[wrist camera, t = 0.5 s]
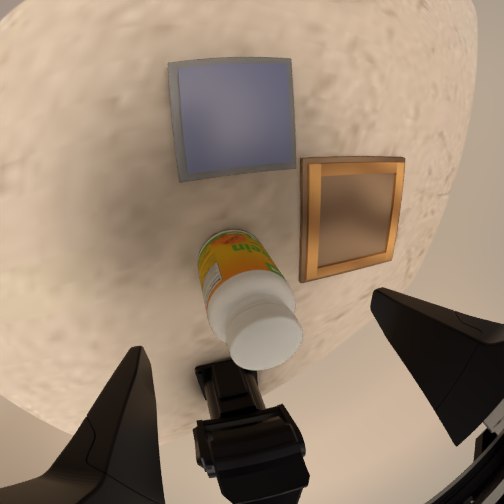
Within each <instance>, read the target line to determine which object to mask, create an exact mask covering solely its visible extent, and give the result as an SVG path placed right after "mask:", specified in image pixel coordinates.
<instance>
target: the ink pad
mask: <svg viewBox="0 0 504 504" xmlns="http://www.w3.org/2000/svg"><path fill="white" fill-rule="evenodd" d="M168 74H169V89H170V102H171V113H172V124H173V133H174V143H175V151H176V160H177V168H178V175H179V183H181V182H187V181H193V180H200V179H207V178H214V177H221V176H228V175H236V174H245V173H254V172H263V171H273V170H285V169H296V142H295V115H294V95H293V78H292V64H291V59H289V58H271V57H227V58H209V59H197V60H187V61H179V62H171V63H168Z"/></svg>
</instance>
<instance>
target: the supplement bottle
mask: <svg viewBox="0 0 504 504" xmlns="http://www.w3.org/2000/svg"><path fill="white" fill-rule="evenodd" d="M198 271H199V277H200V282H201V287H202V292H203V297H204V302H205V307H206V311H207V316H208V320H209V323H210V326H211V328H212V330H213V332H214V333H215V335H216V336H217V337H218V338H220V339H221V340H222V341H224V342H225V343H226V344H227V346H228V349H229V352H230V355H231V358H232V360H233V361H234V362H235V363H236V364H237V365H238V366H240V367H242V368H244V369H248V370H265V369H270V368H273V367H276V366H278V365H280V364H282V363H284V362H285V361H287V360H288V359H289V358H291V357H292V356H293V355H294V354H295V353H296V351H297V350H298V349H299V347H300V345H301V343H302V339H303V331H302V328H301V326H300V324H299V322H298V320H297V318H296V317H295V315H294V312H295V306H296V302H295V296H294V293H293V291H292V289H291V287H290V286H289V284H288V282H287V281H286V280H285V278H284V277H283V275H282V274H281V272H280V271H279V270H278V268H277V267H276V265H275V264H274V262H273V261H272V259H271V258H270V256H269V255H268V253H267V252H266V251H265V249H264V247H263V246H262V245H261V243H260V242H259V241H258V240H257V239H256V238H255V237H254V236H253V235H251V234H250V233H247V232H245V231H242V230H226V231H223V232H220V233H218V234H216V235H214V236H212V237H211V238H210V239H209V240H208V241H207V242H206V243H205V244H204V246H203V247H202V249H201V251H200V253H199V257H198Z"/></svg>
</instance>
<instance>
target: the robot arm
mask: <svg viewBox="0 0 504 504" xmlns="http://www.w3.org/2000/svg"><path fill="white" fill-rule="evenodd" d="M370 308H371V312H372V313H373V315H374V317H375V319H376V320H377V322H378V324H379V326H380V327H381V329H382V330H383V333H384V334H385V336H386V338H387V339H388V341H389V342H390V344H391V345H392V347H393V348H394V350H395V351H396V352H397V354H398V355H399V357H400V358H401V360H402V361H403V363H404V364H405V366H406V367H407V369H408V370H409V372H410V373H411V374H412V376H413V378H414V379H415V381H416V382H417V384H418V385H419V387H420V388H421V390H422V391H423V393H424V394H425V396H426V398H427V399H428V401H429V402H430V404H431V406H432V407H433V409H434V411H435V412H436V414H437V416H438V417H439V419H440V421H441V422H442V424H443V426H444V427H445V429H446V431H447V432H448V434H449V436H450V438H451V439H452V441H453V443H454V444H455V446H458V445H459V444H460V443H462V441H464V440H465V439H466V438H467V437H468V436H469V435H470V434H471V433H472V432H473V431H474V430H475V429H476V428H477V427H478V426H479V425H480V424H481V423H482V422H483V423H484V425H485V426H486V427H487V428H486V429H485V430H484V431H483V432H482V433H481V434H480V435H479V436H478V437H477V438H476V442H475V453H474V461H473V463H472V464H471V465H470V466H469V467H468V468H467V469H466V470H465V471H464V472H463V473H462V474H461V475H460V476H458V477H457V478H456V479H455V480H454V481H453V482H452V483H450V484H449V485H448V486H447V487H446V488H444V489H443V490H442V491H441V492H440V493H438V494H437V495H436V496H434V497H433V498H432V499H430V500H429V501H428V502H426V503H425V504H504V324H500V323H496V322H492V321H488V320H484V319H480V318H476V317H473V316H469V315H466V314H463V313H460V312H457V311H453V310H450V309H448V308H445V307H442V306H438V305H435V304H432V303H429V302H426V301H423V300H420V299H417V298H414V297H411V296H408V295H405V294H402V293H399V292H396V291H393V290H390V289H387V288H383V287H382V288H378V289H375V290H374V292H373V295H372V300H371V305H370ZM195 373H196V376H197V379H198V382H199V384H200V387H201V390H202V392H203V395H204V398H205V400H207V404H208V408H209V413H210V417H211V420H204V421H202V420H197V427H196V428H194V429H193V434H194V440H195V449H196V460H197V464H198V465H199V466H201V467H202V468H204V470H205V472H207V474H208V476H209V478H214V477H217V480H218V483H219V486H220V490H221V493H222V495H223V496H224V497H226V498H227V499H228V500H229V501H230V502H231V503H232V504H298V501H299V498H300V495H301V492H302V490H303V488H304V487H307V486H308V483H309V477H310V475H309V472H308V470H307V468H306V465H305V462H304V459H303V457H304V456H305V453H306V452H305V451H306V449H305V443H304V440H303V437H302V434H301V432H300V430H299V429H298V427H297V425H296V424H295V422H294V421H293V419H292V418H291V416H290V414H289V413H288V411H287V410H286V408H285V407H284V405H283V404H281V405H277V406H275V407H272V408H267V409H266V408H265V405H264V402H263V400H262V397H261V394H260V392H259V389H258V382H257V370H248V369H244V368H242V367H240V366H238V365H237V364H236V363H235V362H234V361H233V360H230V361H225V362H221V363H216V364H210V365H205V366H200V367H197V368H195ZM0 504H165V499H164V492H163V484H162V476H161V467H160V456H159V444H158V429H157V408H156V398H155V391H154V384H153V377H152V369H151V364H150V361H149V359H148V356H147V354H146V352H145V350H144V348H143V347H142V346H135V347H131V348H130V349H129V351H128V352H127V354H126V355H125V357H124V358H123V360H122V361H121V363H120V364H119V366H118V367H117V369H116V370H115V372H114V373H113V375H112V376H111V378H110V379H109V381H108V382H107V384H106V386H105V387H104V389H103V390H102V392H101V393H100V395H99V396H98V398H97V400H96V401H95V403H94V404H93V406H92V408H91V409H90V411H89V412H88V414H87V417H85V419H84V420H83V422H82V424H81V425H80V427H79V428H78V430H77V431H76V433H75V435H74V436H73V437H72V439H71V440H70V442H69V443H68V444H67V446H66V447H65V449H64V450H63V451H62V452H61V454H60V455H59V456H58V458H57V459H56V460H55V462H54V463H53V464H52V466H51V467H50V468H49V469H48V470H47V471H46V472H45V473H44V474H43V475H41V476H39V477H37V478H34V479H31V480H28V481H25V482H22V483H18V484H15V485H11V486H7V487H4V488H0Z"/></svg>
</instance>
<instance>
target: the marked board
mask: <svg viewBox="0 0 504 504" xmlns="http://www.w3.org/2000/svg"><path fill="white" fill-rule="evenodd" d="M404 170H405V158H403V157H375V156H347V157H313V158H301V237H300V273H299V281H300V283H305V282H309V281H313V280H317V279H322V278H326V277H330V276H334V275H338V274H342V273H346V272H350V271H354V270H358V269H361V268H365V267H369V266H373V265H377V264H380V263H384V262H388V261H391V260H392V257H393V251H394V246H395V241H396V235H397V229H398V222H399V216H400V208H401V200H402V192H403V182H404Z"/></svg>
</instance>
